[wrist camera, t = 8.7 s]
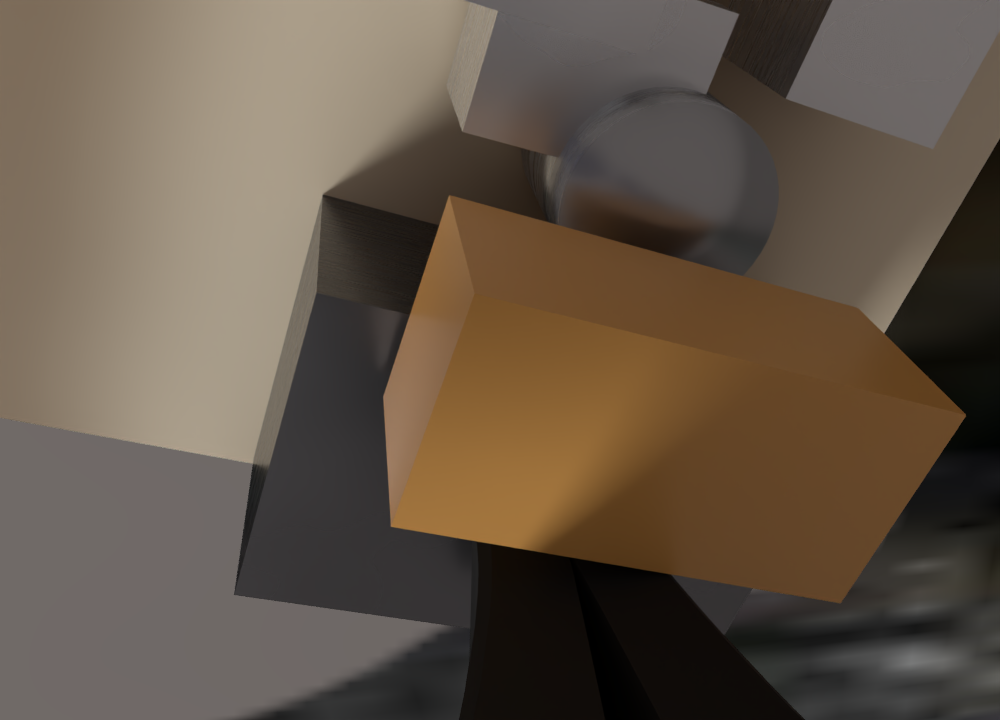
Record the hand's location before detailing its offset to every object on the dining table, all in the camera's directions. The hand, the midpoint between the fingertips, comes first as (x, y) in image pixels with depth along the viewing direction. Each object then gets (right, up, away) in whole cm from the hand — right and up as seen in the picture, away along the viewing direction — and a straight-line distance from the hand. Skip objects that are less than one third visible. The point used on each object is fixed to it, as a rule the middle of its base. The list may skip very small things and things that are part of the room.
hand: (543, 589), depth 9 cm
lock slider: (+1, +2, -1) cm, 3 cm away
